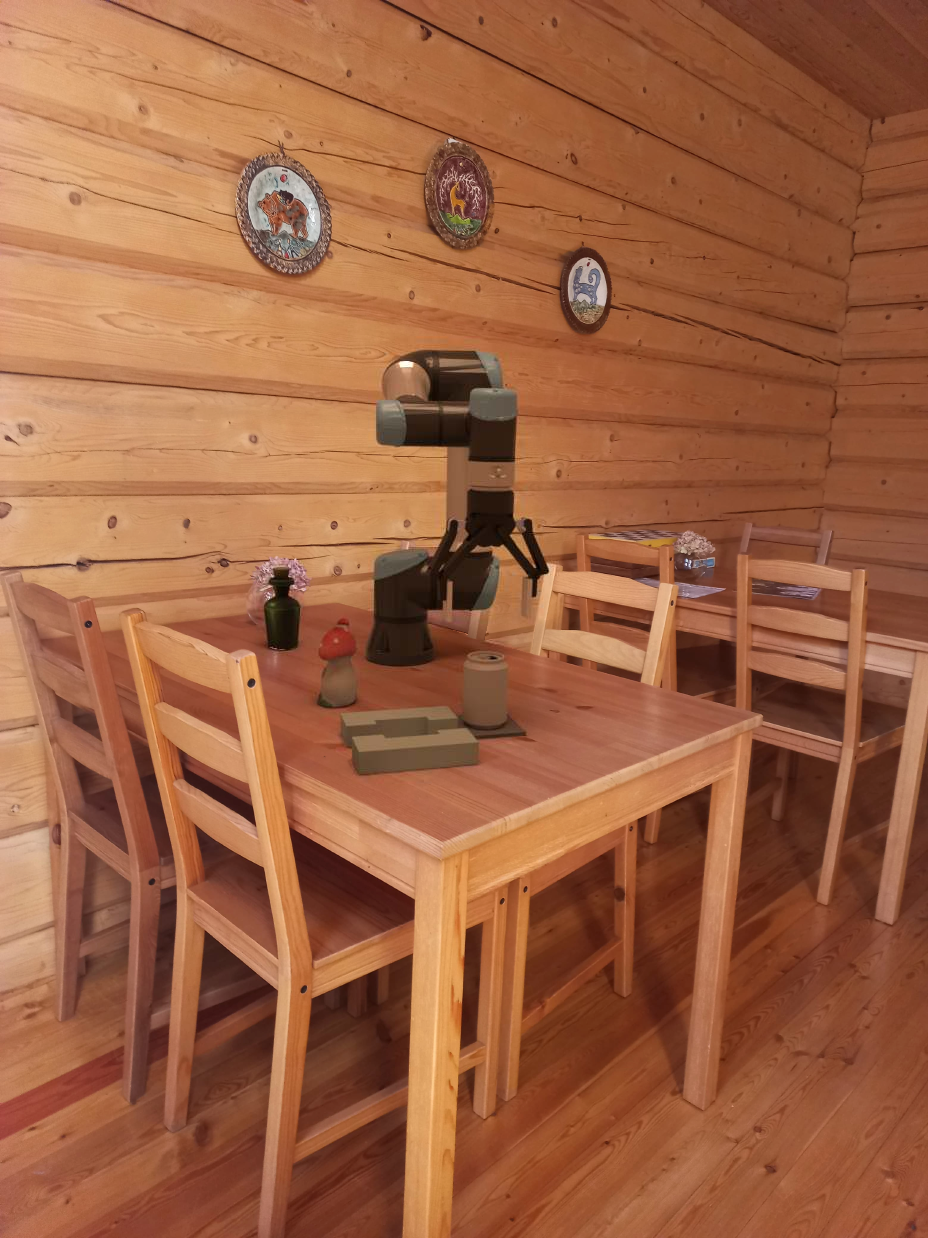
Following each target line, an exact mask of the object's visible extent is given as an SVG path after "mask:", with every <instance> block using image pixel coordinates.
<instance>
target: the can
mask: <svg viewBox="0 0 928 1238" xmlns="http://www.w3.org/2000/svg"><path fill="white" fill-rule="evenodd" d="M505 659H506V656H505V655H504V654H503V653H501V652H498V651H489V650H483V651H482V650H481V651H473V652H470V653H468V654H467V659H466V660H465V661H464V662H463V665H462V667H463V671H462V672H463V673H462V707H461V708H462V711H461V713H462V719H463V720H464V721H465V722H466V723H467V724H468V725H469V726H470V727H473V728H478V729H493V728H497V727H500V726H501V725H502V724H503V723H504V722H505V721H506V719H507V714H508V692H509V691H508V688H509V664H508V663H507V661H506V660H505Z"/></svg>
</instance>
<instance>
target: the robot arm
mask: <svg viewBox="0 0 928 1238" xmlns="http://www.w3.org/2000/svg"><path fill="white" fill-rule="evenodd" d="M381 390H382V394H383V396H384V398H385V399H381V400H378V401H377V402H376V405H375V439H376V442H377V444H379V445H380V446H390V447H395V448H400V447H409V448H412V447H414V448H415V447H417V448H418V447H420V448H423V447H424V448H425V447H426V448H435V447H436V448H446V495H445V496H446V497H445V498H446V506H445V507H446V508H445V510H446V511H445V532H444V534H443V537H442V539H441V540H440V542H439V544H438V546H437V547H436V548H437V549H436V551H435V552H434V555H433V556H431V555H430V553H429V551H428V549H425V548H408V549H398V550H392V551H389V552H385V553H381V554H380V555H378V556H377V557H376V558H375V560H374V565H373V576H372V580H373V623H372V627H371V629H370V632H369V636H368V638H367V642H366V645H365V659H366V660H368V661H370V662H373V663H374V664H375V663H376V664H379V665H387V666H388V665H389V666H414V665H422V664H426V663H429V662H432V661H433V660H434V659H435V658H436V646H435V642H434V640H433V639H434V638H433V637H432V633H431V630H430V627H429V623H428V611H442V619H443V620H444V621H445V622H447V623H451V622H453V621H452V618H453V614H452V613H453V611H468V612H473V611H484V610H488V609H490V608H491V607H492V606H493V604H494V602H495V599H496V595H497V592H498V588H499V587H498V585H499V580H500V566H501V563H500V558H499V557H498V556H495V555H493V548H500V547H501V546H504V548H506V549H507V551H508V552H509V553H510V555H511V556H512V557H513V558H514V560H515V561H516V562H517V564H518V565H519V566H520V567H521V569H522V570H523V571H524V572H525V574H526V575H527V576H522V577H521V579H522V580H521V581H522V582H521V604H520V605H521V609H520V615H521V616H522V617H523V618H525V619H532V603H533V602H532V601H533V600H532V599H533V598H536V597H537V595H538V580H539V579H540V578H541V576H544V575H548V574H549V573H550V569H549V567H548V564H547V561H546V559H545V556H544V555H543V552H542V550H541V548H540V545H539V542H538V541H537V539H536V537H535V534H534V529H533V528H534V527H533V521H532V519H531V518H528V517H525V516H524V517H521V518H520V519H515V518H514V513H515V511H514V510H515V509H514V508H515V492H514V491H513V489H511V488H513V487H514V486H515V479H516V478H515V476H516V475H515V474H516V442H517V440H516V439H517V422H518V415H519V409H518V394H517V392H516V391H515V390H513V389H511V388H504V378H503V371H502V368H501V363H500V360H499V357H497V355H496V353H493V352H489V351H480V350H450V349H449V350H445V349H444V350H442V349H441V350H440V349H439V350H438V349H420V350H415V351H411V352H408V353H405V354H404V355H402V356H400V357H398V358H396V359H394V360H393V361H392V362H391V363H390V364H389V365H388V366H387V367H386V368H385V370H384V372H383V375H382V379H381ZM515 529H517V531H518V532H520V533H521V535H522V538H523V541H524V543H525V545H526V548H527V550H528V552H529V554H530V556H531V560H532V561H533V563H534V565H533V564H532V563H531V562H530V560H529V559H528V558H527V557H526V556H525V554H524V553H523V552H522V551H521V549H520V548H519V547H518V545H517V543H516V542H515V540H514V539H513V538H512V537H511V535H512V533H513V532H514V530H515ZM534 566H535V567H534Z"/></svg>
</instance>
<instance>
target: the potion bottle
mask: <svg viewBox="0 0 928 1238" xmlns="http://www.w3.org/2000/svg"><path fill="white" fill-rule="evenodd" d="M290 571H291V567H288V566H275V567H274V566H273V567H272V572H273V573H272V574H273V577H270V578H268V579H269V580H268V583H267V584H268V585H270V586H272V588H273V591H274V596H273V597H271V598H269V599H268V600H266V601H265V603H264V604H263V613H264V622H265V628H266V629H265V631H266V639H267V640H266V641H267V647H268V646H269V647H273V648H277V649H291V648H295V647H296V648H297V647H298V646H299V632H300V621H301V620H300V619H301V604H300V602H299V601H298V600H297V599H295V598H294V597H293V596H290V595H289V594H290V589H291V586H293V585H295V584H296V581H295V580H294V579H295V578H293V577H292V576H290ZM269 647H268V648H269ZM296 648H295V649H296ZM291 650H292V649H291Z"/></svg>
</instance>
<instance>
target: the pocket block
mask: <svg viewBox="0 0 928 1238" xmlns="http://www.w3.org/2000/svg"><path fill="white" fill-rule="evenodd" d="M339 714H340V715H339V716H340V718H339V719H340V721H339V722H340V725H339V726H340V727H339V728H340V735H341V736H340V737H342V740H343V742H344V745H345V746H346V748H351V760H352V762H353V765H354V767H355V769H356V771H357V773H358V775H359V776H360V775H361V776H362V775H372V774H375V775H376V774H383V773H384V774H386V773H398V772H406V771H418V770H419V771H420V770H428V769H431V770H432V769H439V768H440V769H441V768H451V767H463V766H474V765H479V757H480V756H479V755H480V754H479V752H480V751H479V749H480V747H479V746H480V742H479V741H478V739H476V738H475V737H474V736H473V735H472V734H471V733H470V731H469V730H468V729H467V728H461V729H458V718H457V717H456V715H457V714H455V713H454V712H453V710H451V708H450V707H449V706H448V705H442V706H427V707H425V706H424V707H416V708H415V707H411V708H397V709H386V710H385V709H384V710H381V709H380V710H369V711H368V710H367V711H354V712H340V713H339Z"/></svg>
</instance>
